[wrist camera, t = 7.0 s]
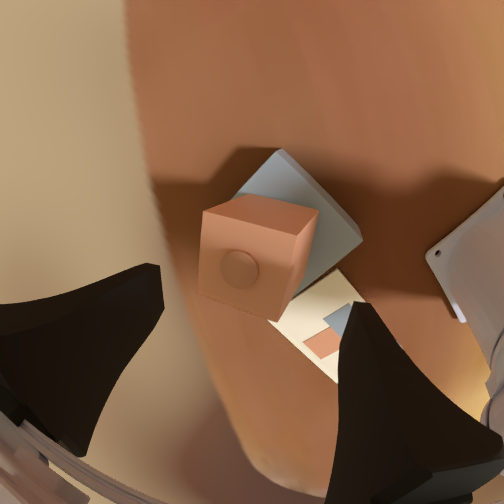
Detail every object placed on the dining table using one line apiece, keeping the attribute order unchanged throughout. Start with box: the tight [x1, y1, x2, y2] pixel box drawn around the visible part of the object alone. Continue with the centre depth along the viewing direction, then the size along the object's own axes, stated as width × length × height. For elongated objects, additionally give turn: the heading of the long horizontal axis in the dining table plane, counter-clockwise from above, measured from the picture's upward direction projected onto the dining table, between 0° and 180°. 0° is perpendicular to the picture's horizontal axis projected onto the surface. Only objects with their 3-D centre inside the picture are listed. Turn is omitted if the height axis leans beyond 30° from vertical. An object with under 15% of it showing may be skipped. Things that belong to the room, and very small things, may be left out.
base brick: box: [200, 148, 363, 298], centre depth 18 cm, size 7×7×3 cm
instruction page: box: [268, 268, 403, 384], centre depth 22 cm, size 7×10×1 cm
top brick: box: [197, 194, 319, 323], centre depth 14 cm, size 4×4×5 cm
